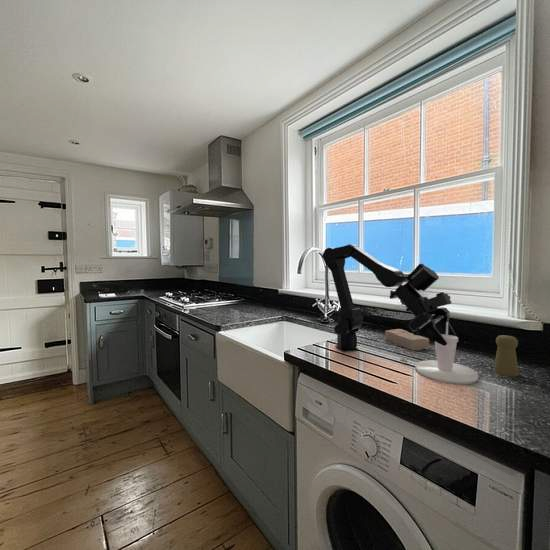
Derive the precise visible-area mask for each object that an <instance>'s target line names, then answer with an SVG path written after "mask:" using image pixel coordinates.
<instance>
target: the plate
mask: <svg viewBox="0 0 550 550" xmlns="http://www.w3.org/2000/svg"><path fill="white" fill-rule="evenodd" d="M414 367H415V368H414V369H415V372H417V374H419V375H420V376H422V377H424V378H427V379H430V380H433V381H436V382H440V383H446V384H453V385H471V384H475V383H477V382H478V380H479V373H478V372H477V371H476V370H475V369H472V368H471V367H469V366H466V365H463V364H460V363H456V362H453V368H452V371H443V370H440V369H438V366H437V359H436V360H432V359H431V360H429V359H427V360H420V361H418V362H416V363H415V366H414Z"/></svg>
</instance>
